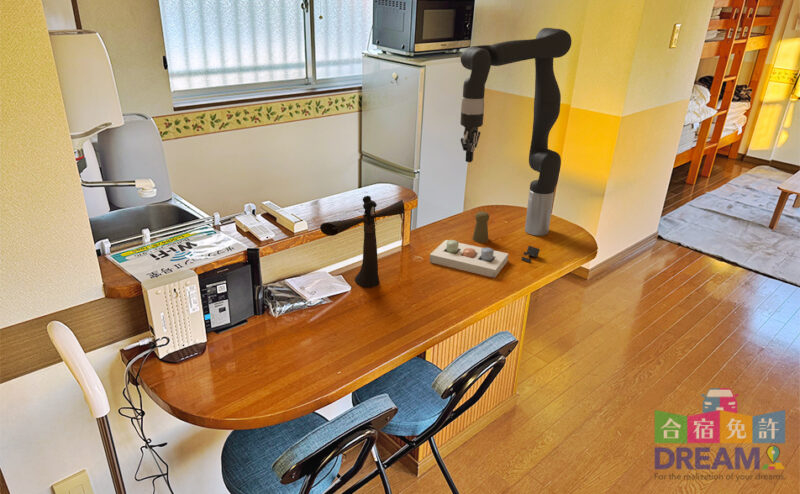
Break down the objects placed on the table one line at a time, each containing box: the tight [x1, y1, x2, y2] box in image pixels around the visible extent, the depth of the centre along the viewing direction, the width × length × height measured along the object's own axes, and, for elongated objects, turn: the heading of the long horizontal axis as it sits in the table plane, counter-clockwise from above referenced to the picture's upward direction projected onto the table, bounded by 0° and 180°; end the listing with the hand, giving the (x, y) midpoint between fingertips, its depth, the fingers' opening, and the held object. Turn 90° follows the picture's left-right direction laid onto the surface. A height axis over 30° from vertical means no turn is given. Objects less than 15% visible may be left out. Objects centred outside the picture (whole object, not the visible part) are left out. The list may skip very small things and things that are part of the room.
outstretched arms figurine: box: [319, 195, 406, 288], centre depth 173 cm, size 32×10×30 cm, turn 130°
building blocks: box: [521, 245, 541, 263], centre depth 195 cm, size 3×6×8 cm
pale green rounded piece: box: [445, 239, 459, 254], centre depth 194 cm, size 4×4×4 cm
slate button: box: [480, 247, 495, 262], centre depth 189 cm, size 4×4×4 cm
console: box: [429, 239, 509, 279], centre depth 193 cm, size 14×24×3 cm, turn 62°
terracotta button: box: [462, 248, 476, 258], centre depth 192 cm, size 4×4×4 cm
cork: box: [472, 210, 490, 243], centre depth 208 cm, size 6×6×11 cm
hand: (469, 161), depth 190 cm, fingers closed
